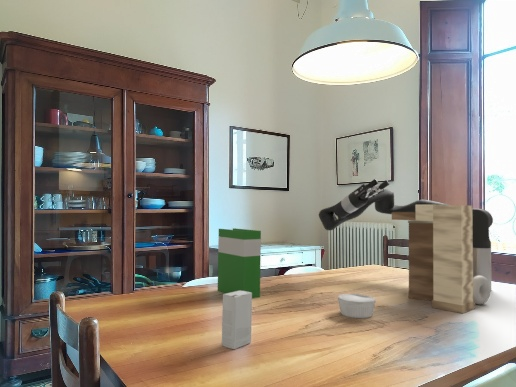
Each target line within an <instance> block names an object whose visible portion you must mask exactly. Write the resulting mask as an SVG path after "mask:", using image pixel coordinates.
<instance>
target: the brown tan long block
mask: <svg viewBox="0 0 516 387" xmlns="http://www.w3.org/2000/svg"><path fill="white" fill-rule="evenodd" d="M415 208H416V212H392V214H391V220H394V221H395V220H397V221H408V220H417V221H433V205H415Z"/></svg>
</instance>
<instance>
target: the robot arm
mask: <svg viewBox="0 0 516 387" xmlns="http://www.w3.org/2000/svg"><path fill="white" fill-rule="evenodd" d="M389 185H390V182H389V180H384V181H382V182H381V183H380V184H379V182H378V180H377V179H376V178H374V179H372V181H370V182H369V183H363V184H361V185H360V186H359V187H357V188H356V189H355V190H353V191H352V192H351V193H349V194H347V195H346V196H345V197H344V198H343V199H341V200H340V201H338V202H337V203H336V204H334V205H331V206H329V207H326V208H323V209H320V211H319V212H318V218H319V220H320V221H321V225H322V226H323V228H324V230H326V231H328V232H329V231H333V230H335V229H337V227H339V226H340V225H341V224H344V223H345V222H347V221H351V220H353V219H356V218H357V217H359V216H361V215H362V214H363V213H364V212H365V211H366V210H367V209H368V208H369V207H370V206H371V205H372V204H374V209H375V211H376V212H378V213H381V214H385V215H392V212H416V208H415V205H449V204H448V203H443V202H438V201H433V200H429V199H418V200H415V201H413V202H411V203H408V204H406V205H397V204H395V193H394V191H393V190H392V189H388V188H387V187H388V186H389ZM472 219H473V278H474V277H475V276H478V275H480V276H484V277H485V278H486V279H487V280H488V281H489V284H490V292H491V291H492V242H491V239H490V228H491V226H492V224H493V222H494V218H493V216H492V214H491V213H490V212H489V211H488V210H487V209H484V208H472Z"/></svg>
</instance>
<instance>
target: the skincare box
mask: <svg viewBox="0 0 516 387" xmlns="http://www.w3.org/2000/svg"><path fill="white" fill-rule="evenodd" d="M252 300H253V298H252V293H251V292H246V291H235V292H231V293H227V294H226V293H223V294H222V312H221V313H222V314H221V315H222V316H221V317H222V320H221V321H222V322H221V346H223V347H225V348H229V349H232V350H236V349H239V348H241V347H244V346H246V345H249V344H251V343H252V313H253V311H252V310H253V309H252V308H253V306H252V305H253V304H252V303H253V302H252Z"/></svg>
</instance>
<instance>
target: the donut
mask: <svg viewBox="0 0 516 387" xmlns="http://www.w3.org/2000/svg"><path fill="white" fill-rule="evenodd" d="M490 296H491V291H490V284H489V281H488V280H487V279H486V278H485V277H484V276H480V275H478V276H475V277H474V278H473V301H474V305H475V304H476V305H479V306H480V305H484V304H485V303H486V302H487V301H488V300H489V298H490Z"/></svg>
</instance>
